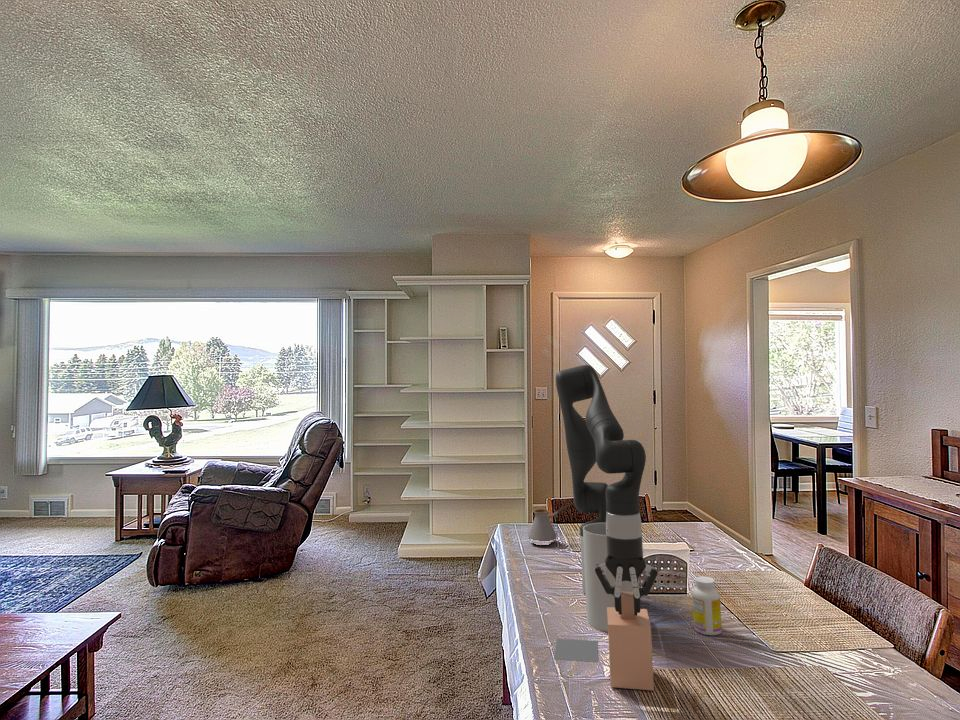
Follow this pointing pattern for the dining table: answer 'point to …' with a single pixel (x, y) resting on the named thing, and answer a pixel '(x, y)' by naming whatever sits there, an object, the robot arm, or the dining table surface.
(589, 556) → the cylinder vase
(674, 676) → the dining table surface
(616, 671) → the orange square bottle
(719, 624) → the supplement bottle
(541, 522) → the coffee pot
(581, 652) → the mat
